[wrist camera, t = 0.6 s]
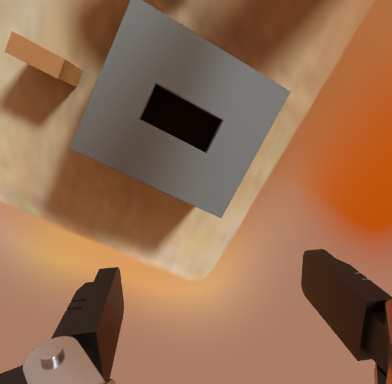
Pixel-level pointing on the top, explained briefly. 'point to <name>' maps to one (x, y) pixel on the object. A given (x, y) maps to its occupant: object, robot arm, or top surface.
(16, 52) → the wooden block
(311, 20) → the top surface
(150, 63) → the box
